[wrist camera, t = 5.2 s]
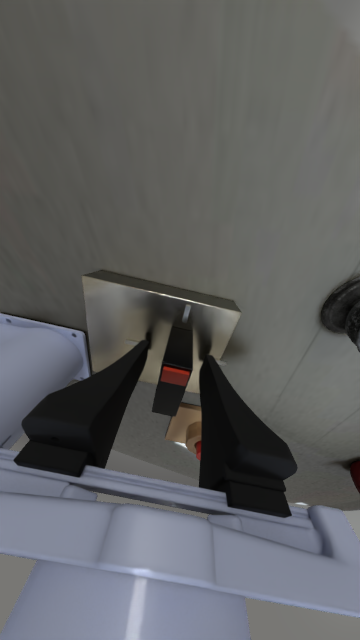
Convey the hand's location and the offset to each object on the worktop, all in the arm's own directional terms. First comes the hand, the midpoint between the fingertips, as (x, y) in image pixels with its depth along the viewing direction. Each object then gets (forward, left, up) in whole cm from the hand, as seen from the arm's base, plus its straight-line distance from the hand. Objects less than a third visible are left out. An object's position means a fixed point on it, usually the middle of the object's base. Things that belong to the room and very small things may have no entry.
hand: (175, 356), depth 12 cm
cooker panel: (-2, 0, -3) cm, 4 cm away
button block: (+8, -16, -3) cm, 18 cm away
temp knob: (0, 0, -1) cm, 1 cm away
